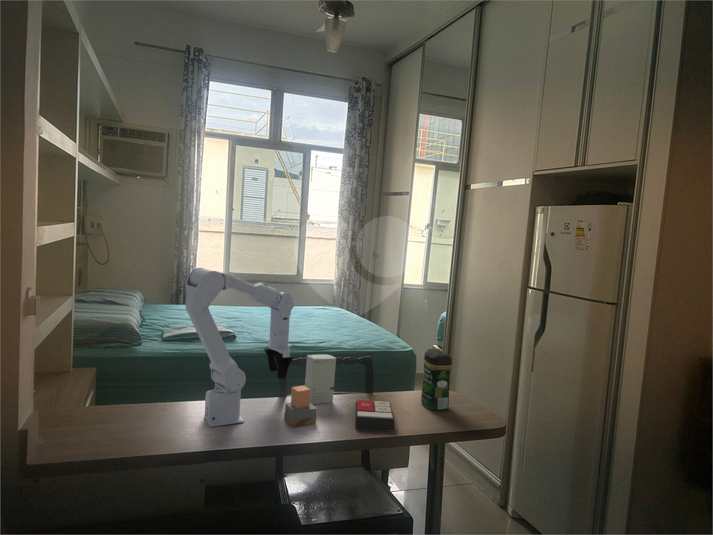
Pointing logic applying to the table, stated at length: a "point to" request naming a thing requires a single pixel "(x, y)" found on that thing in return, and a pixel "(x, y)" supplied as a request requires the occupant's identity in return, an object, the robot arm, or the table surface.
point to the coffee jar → (436, 380)
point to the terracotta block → (300, 397)
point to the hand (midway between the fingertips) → (277, 374)
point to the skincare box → (320, 378)
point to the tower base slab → (299, 421)
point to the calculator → (373, 415)
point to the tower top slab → (300, 411)
